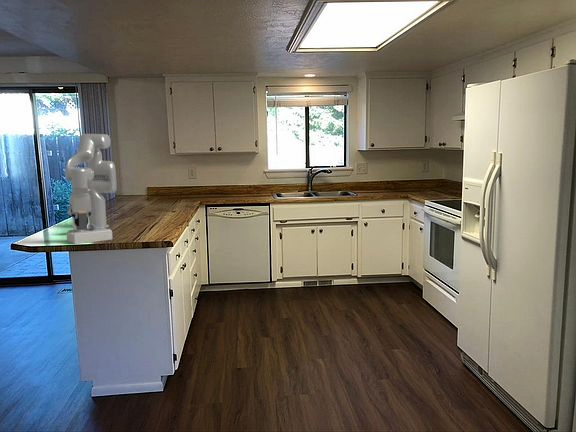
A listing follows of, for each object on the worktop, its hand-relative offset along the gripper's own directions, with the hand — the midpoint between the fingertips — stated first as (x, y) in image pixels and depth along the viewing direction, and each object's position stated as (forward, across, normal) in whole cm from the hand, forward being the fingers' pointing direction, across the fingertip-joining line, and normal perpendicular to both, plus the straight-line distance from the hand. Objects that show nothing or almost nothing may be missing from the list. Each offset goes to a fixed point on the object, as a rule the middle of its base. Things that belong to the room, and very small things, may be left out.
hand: (81, 224), depth 245 cm
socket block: (+9, -4, 0) cm, 10 cm away
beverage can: (+9, -7, -22) cm, 25 cm away
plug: (+2, 0, 0) cm, 2 cm away
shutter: (+4, -9, 0) cm, 9 cm away
